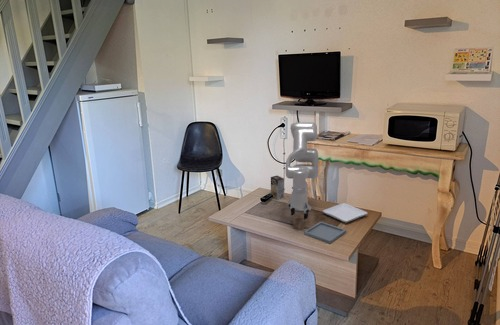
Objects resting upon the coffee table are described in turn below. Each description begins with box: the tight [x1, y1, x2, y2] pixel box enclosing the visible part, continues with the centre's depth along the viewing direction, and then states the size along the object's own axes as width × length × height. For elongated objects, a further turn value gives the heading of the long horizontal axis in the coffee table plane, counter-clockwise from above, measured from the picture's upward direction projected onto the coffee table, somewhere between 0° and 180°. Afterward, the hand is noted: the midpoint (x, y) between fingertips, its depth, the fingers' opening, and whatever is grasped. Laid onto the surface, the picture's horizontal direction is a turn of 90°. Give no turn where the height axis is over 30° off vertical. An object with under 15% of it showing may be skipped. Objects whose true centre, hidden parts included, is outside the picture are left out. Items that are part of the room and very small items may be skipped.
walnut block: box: [293, 216, 306, 232], centre depth 222 cm, size 5×5×6 cm
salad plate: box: [322, 202, 368, 223], centre depth 238 cm, size 21×21×3 cm
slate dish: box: [303, 221, 347, 245], centre depth 214 cm, size 18×18×2 cm
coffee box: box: [270, 175, 285, 201], centre depth 271 cm, size 9×6×16 cm
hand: (299, 216), depth 220 cm, fingers open, 9 cm apart
